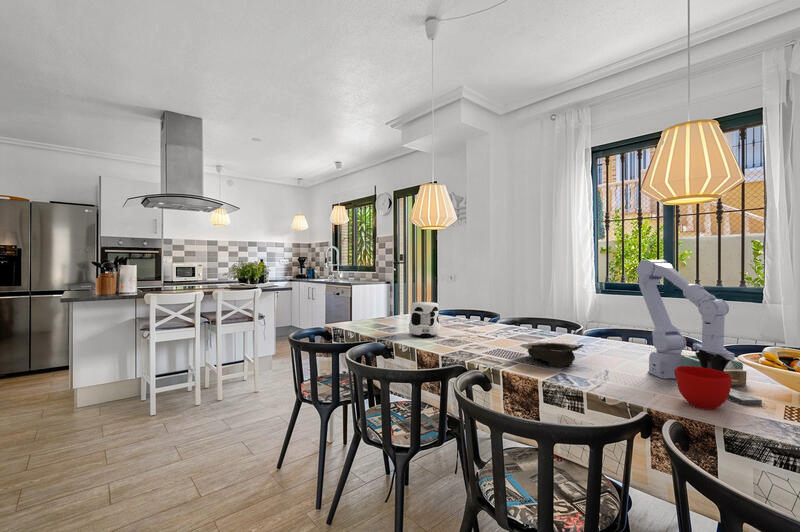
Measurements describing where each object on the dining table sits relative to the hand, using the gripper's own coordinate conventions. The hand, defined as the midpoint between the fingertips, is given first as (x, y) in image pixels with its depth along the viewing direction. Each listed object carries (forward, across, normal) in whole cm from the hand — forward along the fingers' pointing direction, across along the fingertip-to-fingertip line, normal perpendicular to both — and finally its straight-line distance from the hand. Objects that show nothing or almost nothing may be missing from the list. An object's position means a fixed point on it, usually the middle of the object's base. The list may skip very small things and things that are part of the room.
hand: (712, 375), depth 128 cm
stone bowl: (+5, +33, +42) cm, 53 cm away
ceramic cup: (+5, -13, +16) cm, 21 cm away
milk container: (+5, +86, +90) cm, 125 cm away
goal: (+4, +12, -10) cm, 16 cm away
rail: (+4, -5, 0) cm, 7 cm away
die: (+4, +8, -10) cm, 13 cm away
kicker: (+4, 0, -6) cm, 7 cm away
